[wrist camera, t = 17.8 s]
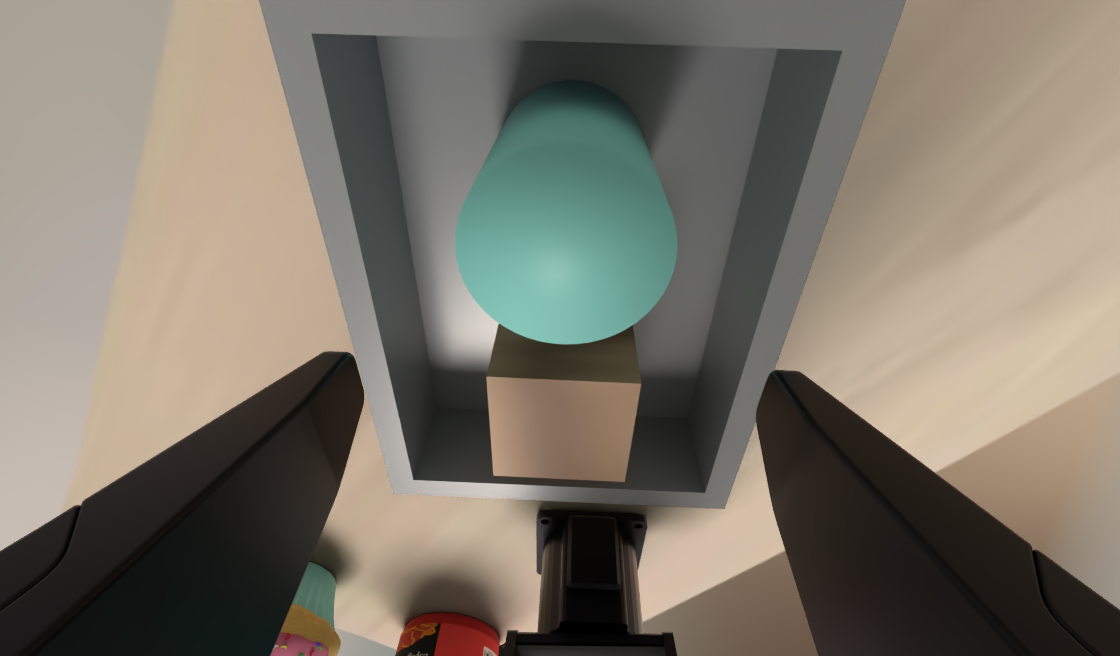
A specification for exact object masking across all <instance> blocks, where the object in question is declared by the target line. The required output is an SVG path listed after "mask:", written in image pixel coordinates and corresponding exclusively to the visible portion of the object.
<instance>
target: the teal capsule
mask: <svg viewBox="0 0 1120 656" xmlns="http://www.w3.org/2000/svg"><path fill="white" fill-rule="evenodd" d="M677 246H678V244H677V231H676V226H675V222H674V218H673V215H672V212H671V209H670V207H669V204H668V201H667V199H666V196H665V193H664V190H663V188H662V185H661V182H660V179H659V177H658V174H657V171H656V169H655V166H654V163H653V160H652V158H651V155H650V152H649V150H648V147H647V144H646V141H645V139H644V136H643V133H642V131H641V128H640V125H639V123H638V121H637V119H636V117H635V116H634V114H633V112H632V111H631V110H630V108H629V107H628V106H627V105H626V104H625V103H624V102H623V101H622V100H621V99H620V98H619V97H618V96H616V95H615V94H614V93H613V92H611V91H609V90H607V89H606V88H604V87H602V86H599V85H596V84H594V83H590V82H586V81H578V80H565V81H558V82H553V83H550V84H547V85H544V86H542V87H540V88H538V89H536V90H534V91H532V92H531V93H530V94H528V95H527V96H525V97H524V98H523V99H522V100H521V101H520V102H519V103H518V104H517V105H516V106H515V107H514V109H513V110H512V111H511V113H510V114H509V116H508V118H507V119H506V121H505V123H504V125H503V127H502V129H501V131H500V133H499V135H498V137H497V139H496V141H495V143H494V145H493V146H492V148H491V150H490V152H489V154H488V156H487V158H486V160H485V162H484V164H483V166H482V168H481V170H480V172H479V174H478V176H477V178H476V180H475V181H474V183H473V185H472V187H471V189H470V191H469V193H468V195H467V197H466V199H465V201H464V203H463V206H462V208H461V211H460V213H459V217H458V221H457V225H456V232H455V254H456V259H457V264H458V268H459V271H460V274H461V277H462V279H463V281H464V283H465V285H466V287H467V289H468V291H469V293H470V294H471V295H472V297H473V298H474V300H475V301H476V302H477V304H478V305H479V306H480V307H481V308H482V309H483V310H484V311H485V312H486V313H487V314H488V315H489V316H490V317H491V318H493V319H494V320H495V321H497V322H498V323H499V324H501V325H502V326H504V327H506V328H507V329H509V330H511V331H513V332H515V333H517V334H519V335H522V336H524V337H527V338H530V339H533V340H537V341H541V342H546V343H552V344H582V343H589V342H594V341H598V340H602V339H605V338H608V337H610V336H613V335H615V334H618V333H620V332H622V331H624V330H626V329H627V328H629V327H630V326H632V325H633V324H635V323H637V322H638V321H639V320H640V319H641V318H643V317H644V316H645V315H646V314H647V313H648V312H649V311H650V310H651V309H652V308H653V307H654V306H655V305H656V303H657V302H658V301H659V299H660V298H661V297H662V295H663V294H664V292H665V290H666V288H667V286H668V284H669V282H670V280H671V277H672V274H673V272H674V268H675V263H676V259H677Z"/></svg>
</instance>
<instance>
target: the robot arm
mask: <svg viewBox="0 0 1120 656" xmlns="http://www.w3.org/2000/svg"><path fill="white" fill-rule="evenodd" d="M363 404H364V390H363V386H362V382H361V378H360V375H359V371H358V367H357V364H356V360H355V358H354V356H353V355H352V354H351V353H349V352H333V351H328V352H323V353H321V354H319V355H318V356H316V357H315V358H313V359H311V360H310V361H308V362H307V363H305V364H303V365H302V366H300V367H298V368H297V369H295V370H294V371H292V372H290V373H289V374H287V375H285V376H284V377H282V378H281V379H279V380H277V381H276V382H274V383H273V384H271V385H269V386H268V387H266V388H264V389H263V390H261V391H260V392H258V393H256V394H255V395H253V396H252V397H250V398H248V399H247V400H245V401H243V402H242V403H240V404H239V405H237V406H235V407H234V408H232V409H231V410H229V411H227V412H226V413H224V414H222V415H221V416H219V417H218V418H216V419H214V420H213V421H211V422H210V423H208V424H206V425H205V426H203V427H201V428H200V429H198V430H197V431H195V432H193V433H192V434H190V435H189V436H187V437H185V438H184V439H182V440H180V441H179V442H177V443H176V444H174V445H172V446H171V447H169V448H167V449H166V450H164V451H163V452H161V453H159V454H158V455H156V456H155V457H153V458H151V459H150V460H148V461H146V462H145V463H143V464H142V465H140V466H138V467H137V468H135V469H133V470H132V471H130V472H129V473H127V474H125V475H124V476H122V477H121V478H119V479H117V480H116V481H114V482H112V483H111V484H109V485H108V486H106V487H104V488H103V489H101V490H99V491H98V492H96V493H95V494H93V495H91V496H90V497H88V498H86V499H85V500H84V501H83V502H82V504H81V506H80V505H75V506H73V507H72V508H70V509H68V510H67V511H65V512H64V513H62V514H60V515H59V516H57V517H56V518H54V519H52V520H51V521H49V522H48V523H46V524H44V525H43V526H41V527H39V528H38V529H36V530H34V531H33V532H31V533H29V534H28V535H26V536H24V537H23V538H21V539H19V540H18V541H16V542H14V543H13V544H11V545H9V546H8V547H6V548H4V549H3V550H1V551H0V656H271V653H272V651H273V648H274V646H275V644H276V641H277V639H278V636H279V634H280V631H281V629H282V627H283V624H284V622H285V619H286V617H287V615H288V612H289V610H290V607H291V605H292V603H293V600H294V598H295V595H296V593H297V590H298V588H299V586H300V583H301V581H302V578H303V576H304V574H305V571H306V569H307V566H308V564H309V561H310V559H311V557H312V554H313V552H314V549H315V547H316V545H317V542H318V540H319V537H320V535H321V533H322V530H323V528H324V525H325V523H326V520H327V518H328V516H329V513H330V511H331V508H332V506H333V503H334V501H335V498H336V496H337V493H338V490H339V487H340V484H341V481H342V478H343V474H344V471H345V467H346V464H347V460H348V457H349V453H350V450H351V446H352V443H353V439H354V436H355V432H356V429H357V425H358V422H359V418H360V415H361V411H362V408H363ZM756 424H757V429H758V434H759V440H760V445H761V450H762V455H763V461H764V466H765V471H766V476H767V482H768V487H769V492H770V497H771V502H772V506H773V511H774V514H775V518H776V521H777V525H778V528H779V531H780V534H781V538H782V541H783V544H784V547H785V550H786V554H787V557H788V560H789V563H790V566H791V569H792V573H793V576H794V579H795V582H796V585H797V588H798V592H799V595H800V598H801V601H802V604H803V608H804V611H805V614H806V617H807V620H808V624H809V627H810V630H811V633H812V636H813V639H814V643H815V646H816V649H817V652H818V656H1120V610H1119V609H1118V608H1117V607H1115V606H1114V605H1113V604H1111V603H1110V602H1108V601H1107V600H1106V599H1104V598H1103V597H1102V596H1100V595H1099V594H1097V593H1096V592H1095V591H1093V590H1092V589H1091V588H1089V587H1088V586H1086V585H1085V584H1084V583H1082V582H1081V581H1080V580H1078V579H1077V578H1075V577H1074V576H1073V575H1071V574H1070V573H1069V572H1067V571H1066V570H1065V569H1063V568H1062V567H1061V566H1059V565H1058V564H1057V563H1055V562H1054V561H1053V560H1051V559H1050V558H1049V557H1047V556H1046V555H1045V554H1043V553H1042V552H1040V551H1039V550H1035V549H1034V550H1032V546H1031V545H1030V543H1028V542H1027V541H1026V540H1024V539H1023V538H1022V537H1020V536H1019V535H1018V534H1016V533H1015V532H1014V531H1012V530H1011V529H1010V528H1008V527H1007V526H1005V525H1004V524H1003V523H1001V522H1000V521H999V520H997V519H996V518H995V517H993V516H992V515H991V514H990V513H988V512H987V511H986V510H984V509H983V508H981V507H980V506H979V505H977V504H976V503H975V502H973V501H972V500H971V499H969V498H968V497H967V496H965V495H964V494H963V493H961V492H960V491H958V490H957V489H956V488H955V487H953V486H952V485H951V484H949V483H948V482H947V481H945V480H944V479H943V478H941V477H940V476H939V475H937V474H936V473H935V472H933V471H932V470H931V469H929V468H928V467H927V466H925V465H924V464H923V463H921V462H920V461H919V460H917V459H916V458H915V457H913V456H912V455H911V454H909V453H908V452H907V451H905V450H904V449H903V448H901V447H900V446H899V445H897V444H896V443H895V442H893V441H892V440H891V439H889V438H888V437H887V436H885V435H884V434H883V433H881V432H880V431H879V430H877V429H876V428H875V427H873V426H872V425H871V424H869V423H868V422H867V421H865V420H864V419H863V418H861V417H860V416H859V415H857V414H856V413H855V412H853V411H852V410H851V409H849V408H848V407H847V406H845V405H844V404H843V403H841V402H840V401H839V400H837V399H836V398H834V397H833V396H832V395H830V394H829V393H828V392H826V391H825V390H824V389H822V388H821V387H820V386H818V385H817V384H816V383H814V382H813V381H812V380H810V379H809V378H808V377H806V376H805V375H804V374H802V373H801V372H798V371H786V370H775V371H772V372H771V373H770V374H769V376H768V378H767V380H766V383H765V386H764V389H763V391H762V394H761V397H760V400H759V403H758V406H757V409H756ZM646 530H647V521H646V518H645V517H644V516H642V515H627V514H605V513H583V512H561V511H541V512H539V513H538V514H537V573H539V574H541V588H540V603H539V618H538V633H533V632H518V630H508V631H507V637H506V642H505V643H504V644H502V645H500V646H499V652H498V656H677V653H676V648H675V643H674V637H673V632H662V634H643V627H642V615H641V604H640V593H639V582H638V567H639V562H640V557H641V553H642V548H643V543H644V539H645V534H646Z"/></svg>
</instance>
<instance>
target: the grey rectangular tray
mask: <svg viewBox="0 0 1120 656" xmlns="http://www.w3.org/2000/svg"><path fill="white" fill-rule="evenodd" d="M259 2H260V5H261V9H262V13H263V16H264V20H265V24H266V28H267V31H268V35H269V39H270V42H271V46H272V50H273V53H274V57H275V61H276V64H277V68H278V72H279V75H280V79H281V83H282V86H283V90H284V94H285V97H286V101H287V105H288V108H289V112H290V116H291V119H292V123H293V127H294V131H295V134H296V138H297V142H298V145H299V149H300V153H301V156H302V160H303V164H304V167H305V171H306V175H307V178H308V182H309V186H310V189H311V193H312V197H313V200H314V204H315V208H316V211H317V215H318V219H319V222H320V226H321V230H322V234H323V237H324V241H325V245H326V248H327V252H328V256H329V259H330V263H331V267H332V270H333V274H334V278H335V281H336V285H337V289H338V292H339V296H340V300H341V303H342V307H343V311H344V314H345V318H346V322H347V325H348V329H349V333H350V337H351V340H352V344H353V348H354V351H355V355H356V359H357V362H358V366H359V370H360V373H361V377H362V381H363V384H364V388H365V392H366V395H367V399H368V403H369V406H370V410H371V414H372V417H373V421H374V425H375V428H376V432H377V436H378V440H379V443H380V447H381V451H382V454H383V458H384V462H385V465H386V469H387V473H388V476H389V480H390V484H391V487H392V491H393V494H406V495H428V496H451V497H473V498H495V499H517V500H539V501H562V502H584V503H606V504H628V505H650V506H673V507H695V508H717V509H725V506H726V503H727V500H728V497H729V495H730V492H731V489H732V486H733V483H734V481H735V478H736V475H737V472H738V469H739V467H740V464H741V461H742V458H743V455H744V453H745V450H746V447H747V444H748V441H749V439H750V436H751V433H752V430H753V427H754V425H755V422H756V409H757V406H758V403H759V400H760V397H761V394H762V391H763V389H764V386H765V383H766V380H767V378H768V376H769V374H770V373H771V372H772V371H774V369H775V366H776V363H777V360H778V357H779V355H780V352H781V349H782V346H783V343H784V341H785V338H786V335H787V332H788V329H789V327H790V324H791V321H792V318H793V315H794V313H795V310H796V307H797V304H798V301H799V299H800V296H801V293H802V290H803V287H804V285H805V282H806V279H807V276H808V273H809V271H810V268H811V265H812V262H813V259H814V257H815V254H816V251H817V248H818V245H819V243H820V240H821V237H822V234H823V231H824V229H825V226H826V223H827V220H828V217H829V215H830V212H831V209H832V206H833V203H834V201H835V198H836V195H837V192H838V189H839V187H840V184H841V181H842V178H843V175H844V173H845V170H846V167H847V164H848V161H849V159H850V156H851V153H852V150H853V147H854V145H855V142H856V139H857V136H858V133H859V131H860V128H861V125H862V122H863V119H864V117H865V114H866V111H867V108H868V105H869V103H870V100H871V97H872V94H873V91H874V89H875V86H876V83H877V80H878V77H879V75H880V72H881V69H882V66H883V63H884V61H885V58H886V55H887V52H888V49H889V47H890V44H891V41H892V38H893V35H894V33H895V30H896V27H897V24H898V21H899V19H900V16H901V13H902V10H903V7H904V5H905V2H906V0H259ZM565 80H578V81H586V82H590V83H594V84H596V85H599V86H602V87H604V88H606V89H607V90H609V91H611V92H613V93H614V94H615V95H616V96H618V97H619V98H620V99H621V100H622V101H623V102H624V103H625V104H626V105H627V106H628V107H629V108H630V110H631V111H632V112H633V114H634V116H635V117H636V119H637V121H638V123H639V125H640V128H641V131H642V133H643V136H644V139H645V141H646V144H647V147H648V150H649V152H650V155H651V158H652V160H653V163H654V166H655V169H656V171H657V174H658V177H659V179H660V182H661V185H662V188H663V190H664V193H665V196H666V199H667V201H668V204H669V207H670V209H671V212H672V215H673V218H674V222H675V226H676V231H677V244H678V246H677V259H676V263H675V268H674V272H673V274H672V277H671V280H670V282H669V284H668V286H667V288H666V290H665V292H664V294H663V295H662V297H661V298H660V299H659V301H658V302H657V303H656V305H655V306H654V307H653V308H652V309H651V310H650V311H649V312H648V313H647V314H646V315H645V316H644V317H643V318H641V319H640V320H639V321H638V322H637V323H635V324H633V329H634V336H635V343H636V350H637V357H638V364H639V372H640V379H641V388H640V394H639V400H638V406H637V412H636V418H635V424H634V430H633V436H632V442H631V448H630V454H629V460H628V466H627V472H626V478H625V482H614V481H594V480H573V479H552V478H532V477H511V476H493V462H492V448H491V434H490V421H489V407H488V393H487V379H486V376H487V372H488V367H489V363H490V359H491V354H492V350H493V346H494V341H495V337H496V333H497V328H498V324H499V323H498V322H497V321H495V320H494V319H493V318H491V317H490V316H489V315H488V314H487V313H486V312H485V311H484V310H483V309H482V308H481V307H480V306H479V305H478V304H477V302H476V301H475V300H474V298H473V297H472V295H471V294H470V293H469V291H468V289H467V287H466V285H465V283H464V281H463V279H462V277H461V274H460V271H459V268H458V264H457V259H456V254H455V232H456V225H457V221H458V217H459V213H460V211H461V208H462V206H463V203H464V201H465V199H466V197H467V195H468V193H469V191H470V189H471V187H472V185H473V183H474V181H475V180H476V178H477V176H478V174H479V172H480V170H481V168H482V166H483V164H484V162H485V160H486V158H487V156H488V154H489V152H490V150H491V148H492V146H493V145H494V143H495V141H496V139H497V137H498V135H499V133H500V131H501V129H502V127H503V125H504V123H505V121H506V119H507V118H508V116H509V114H510V113H511V111H512V110H513V109H514V107H515V106H516V105H517V104H518V103H519V102H520V101H521V100H522V99H523V98H524V97H525V96H527V95H528V94H530V93H531V92H532V91H534V90H536V89H538V88H540V87H542V86H544V85H547V84H550V83H553V82H558V81H565Z"/></svg>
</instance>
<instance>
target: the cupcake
mask: <svg viewBox="0 0 1120 656" xmlns="http://www.w3.org/2000/svg"><path fill="white" fill-rule="evenodd" d="M335 589H336V580H335V578H334V576H333V575H332V574H331V573H330V572H329V571H328V570H326V569H325V568H323V567H321V566H319V565H317V564H315V563H312V562H309V564H308V566H307V569H306V571H305V574H304V576H303V578H302V581H301V583H300V586H299V588H298V590H297V593H296V595H295V598H294V600H293V603H292V605H291V607H290V610H289V612H288V615H287V617H286V619H285V622H284V624H283V627H282V629H281V631H280V634H279V636H278V639H277V641H276V644H275V646H274V648H273V651H272V653H271V656H336V655H337V653H338V651H339V648H340V643H341V642H340V639H339V637H338V635H337V633H336V632H335V629H334V598H335Z"/></svg>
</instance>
